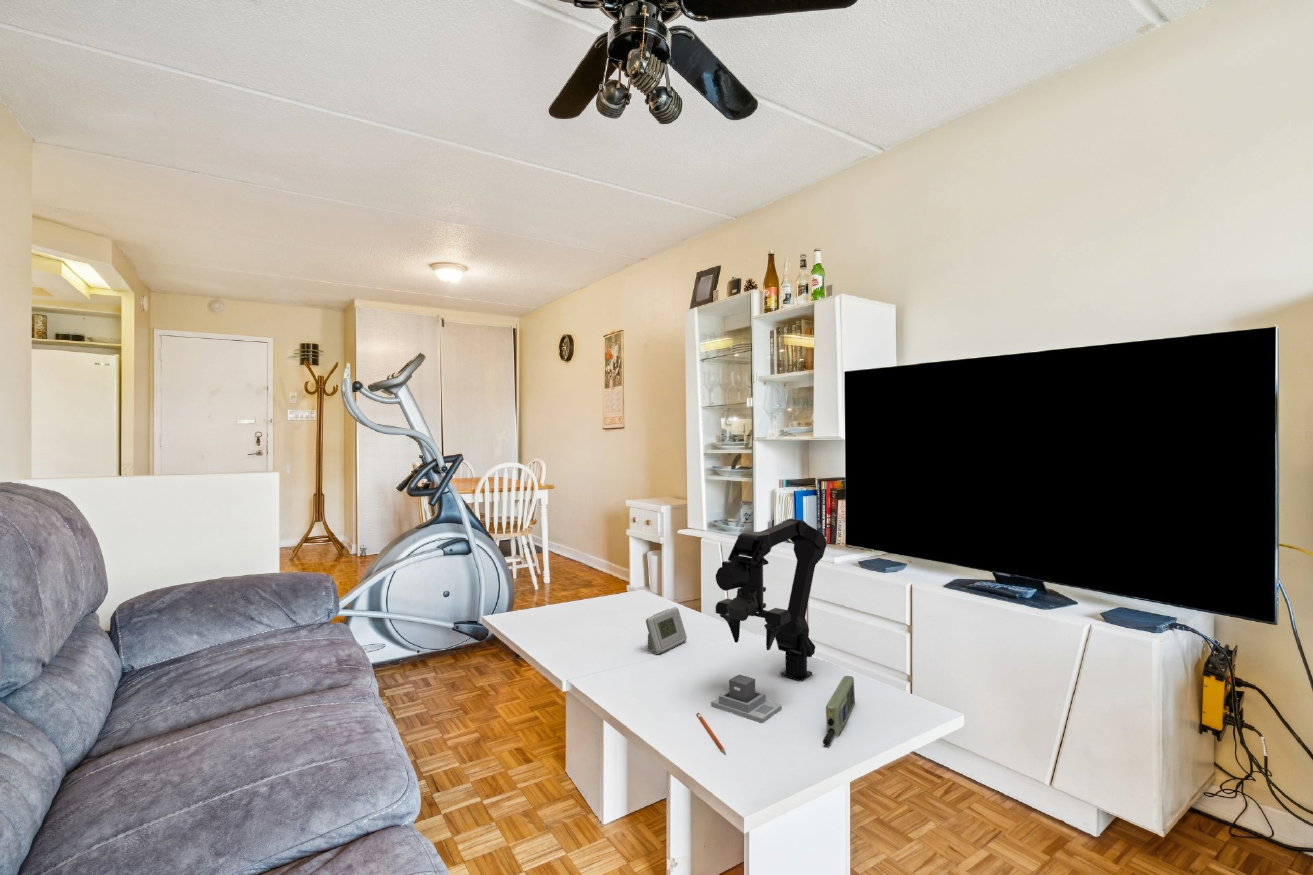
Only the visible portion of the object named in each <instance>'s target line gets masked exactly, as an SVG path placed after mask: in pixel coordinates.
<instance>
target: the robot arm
mask: <svg viewBox="0 0 1313 875" xmlns="http://www.w3.org/2000/svg"><path fill="white" fill-rule="evenodd" d="M788 540H790V541H791V542H792V543H793V553H794V555H795V558H796V566H795V570H794V575H793V580H792V584H791V590H790V595H789V600H788V606H787V609H783V608H778V607H774V608H772V609H769V610H766V608H767V603H764V593H765V592H766V591H767V587H766V586H764V566H766V565H768V564H770V563H769V561H768V560H767V559H766V558H765V557H766V556H767V555H768V554H770V552H771V551H772V548H773V547H775V546H777V545H780V544H781V543H783V542H786V541H788ZM827 542H828V541H827V539H826V537H825V535H824V533H822V532H820V531H819V530H818V529H816V528H814V527H813V526H811V525H809V524H808V523H807V521H804V520H802V519H799V518H798V519H797V518H787V519H786V520H785V521H783V522H781V523H778V524H776V525H773V526H771V527H769V528H766V529H764V530H760V531H747V532H742V533H740V534H739V535H738V536H737V539H736V541H735V542H734V545H733V547H732V549H731V551H730V553H729V556H728V558H727V560H725V561H722V562H721V567H719V568H718V569H717V571H716V574H715V581H716V584H717V586H718V587H719V589H721V590H722V591H726V592H727V591H731V590H734V589H737V591H736V596H735V597H734V598H724V599H722V600H719V601H718V602H717V603H716V604H715V614H719V617H720V618H723V620H725V621H726V622H727V625H728V627H729V629H730V631H731V633H730V634H732V639H733V641H734V643H738V642H739V640H740V639H739V638H740V629H741V622H744V621H746V620H747V619H748V617H757V618H763V619H764V621H765V624H764V626H763V627H764V628H765V632H766V635H765V637H766V638H765V645H766V646H765V647H766V651H770V650H771V649H772V645H773V643H774V641H776V644H777V649H778V651H782V652H785V666H784V667H785V669H784V670H783V671H781V672H780V676H783V677H786V678H790V679H794V680H795V681H801V682H802V681H804V680H806V679H807V678H809V677H810V676H811V675H813V672H812V671H810V670H808V658H812V657H813V655H815V650H816V645H815V644H814V642H812V640H811V639H810V638H809V634H810V627H809V625H808V621H807V619H806V616H807V610H808V605H809V601H810V600H809V599H810V595H811V589H812V584H813V579H814V574H815V568H816V565H817V564H818V563H819V562H820V561H821V559H823V557H824V554H825V552H826V548H827V546H828V543H827Z"/></svg>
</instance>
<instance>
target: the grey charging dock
mask: <svg viewBox="0 0 1313 875" xmlns="http://www.w3.org/2000/svg"><path fill="white" fill-rule="evenodd" d="M782 706H783V705H782V704H778V703H777V702H776V703H775V702H772V701H768V700H767V694H766V693H764V692H762V691H758V690H755V698H754V699H753V700H751V701H750V702H748V703H745V702H742V701H739V700H735V699H732V698H729V689H728V690H726V691H724V692H723V693H721V694H719V695H718V697H717V698H715V699H713V700H712V701H711V702H710V707H712V708H716V709H719V710H722V711H724V710H725V712H727V711H728V713H730V712H732V714H733V713H734V715H736V714H738V715H737V716H739V715H740V717H742V716H744V717H743V718H745V717H746V719H749V720H751V719H752V721H755V722H757V721H758V723H760V724H763V723H765V722H766V721H768V720H769V719H770V718H772V717H773V716H775V715H776V714H778V713H779V712H780V711H781V710H782V708H783V707H782ZM774 714H775V715H774ZM771 716H772V717H771Z"/></svg>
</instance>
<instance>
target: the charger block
mask: <svg viewBox="0 0 1313 875" xmlns="http://www.w3.org/2000/svg"><path fill="white" fill-rule="evenodd" d="M728 690H729V698H732V699H735V700H739V701H742V702H745V703H748V702H750V701H751V700H753V699H754V698H755V691H756V678H753V677H750V676H746V675H742V674H738V675H735V676H734V677H732V678H730V679H729V680H728Z"/></svg>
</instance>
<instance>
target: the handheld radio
mask: <svg viewBox="0 0 1313 875" xmlns="http://www.w3.org/2000/svg"><path fill="white" fill-rule="evenodd" d="M854 681H855V678H854V677H853V676H852V675H844V676H843V677H842V678H841V680H840V682H839V684H838V685H837V687H836V689H835V691H833V693H832V695H831V696H830V699H828V701H827V704H826V706H825V714H826V715H825V716H826V720H825V721H826V734H825V737H824V738H823V740H822V743H823V745H824V746H826V747H827V746H829V745H830V743H831V741H832V739H833V737H834V736H838V737H839V735H840V734H841V732H842V729H843V727H844V726H845V724H846V721H848V720H847V719H848V718H849V716H850V714H851V712H852V709H853V708H854V706H855V704H856V697H855V694H856V693H855V682H854Z"/></svg>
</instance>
